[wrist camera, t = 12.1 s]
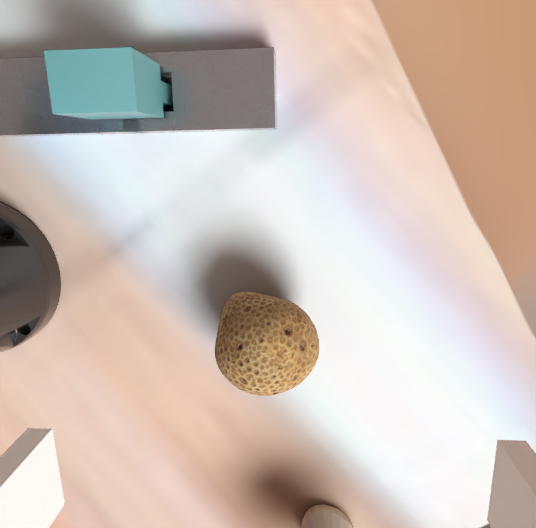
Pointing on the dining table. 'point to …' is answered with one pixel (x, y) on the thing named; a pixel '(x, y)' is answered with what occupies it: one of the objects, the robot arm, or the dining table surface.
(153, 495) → the dining table surface
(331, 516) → the decorative mushroom
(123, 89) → the teal foam brick
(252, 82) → the rail
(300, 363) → the natural sponge
